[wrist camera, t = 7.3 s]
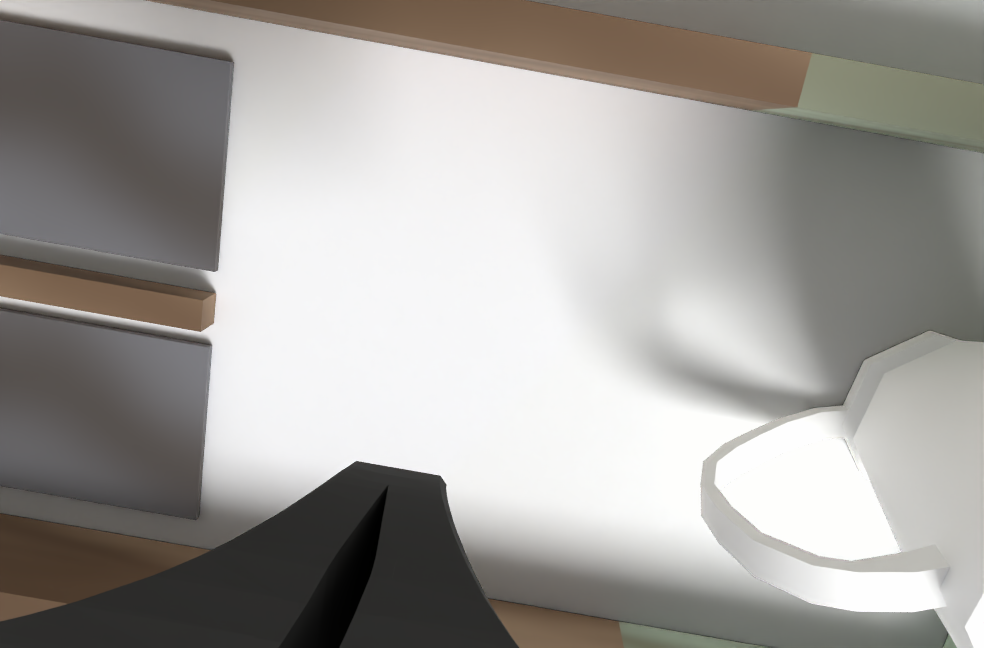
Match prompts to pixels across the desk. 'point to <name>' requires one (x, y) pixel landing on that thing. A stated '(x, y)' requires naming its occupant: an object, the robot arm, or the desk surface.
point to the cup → (884, 487)
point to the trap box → (197, 229)
